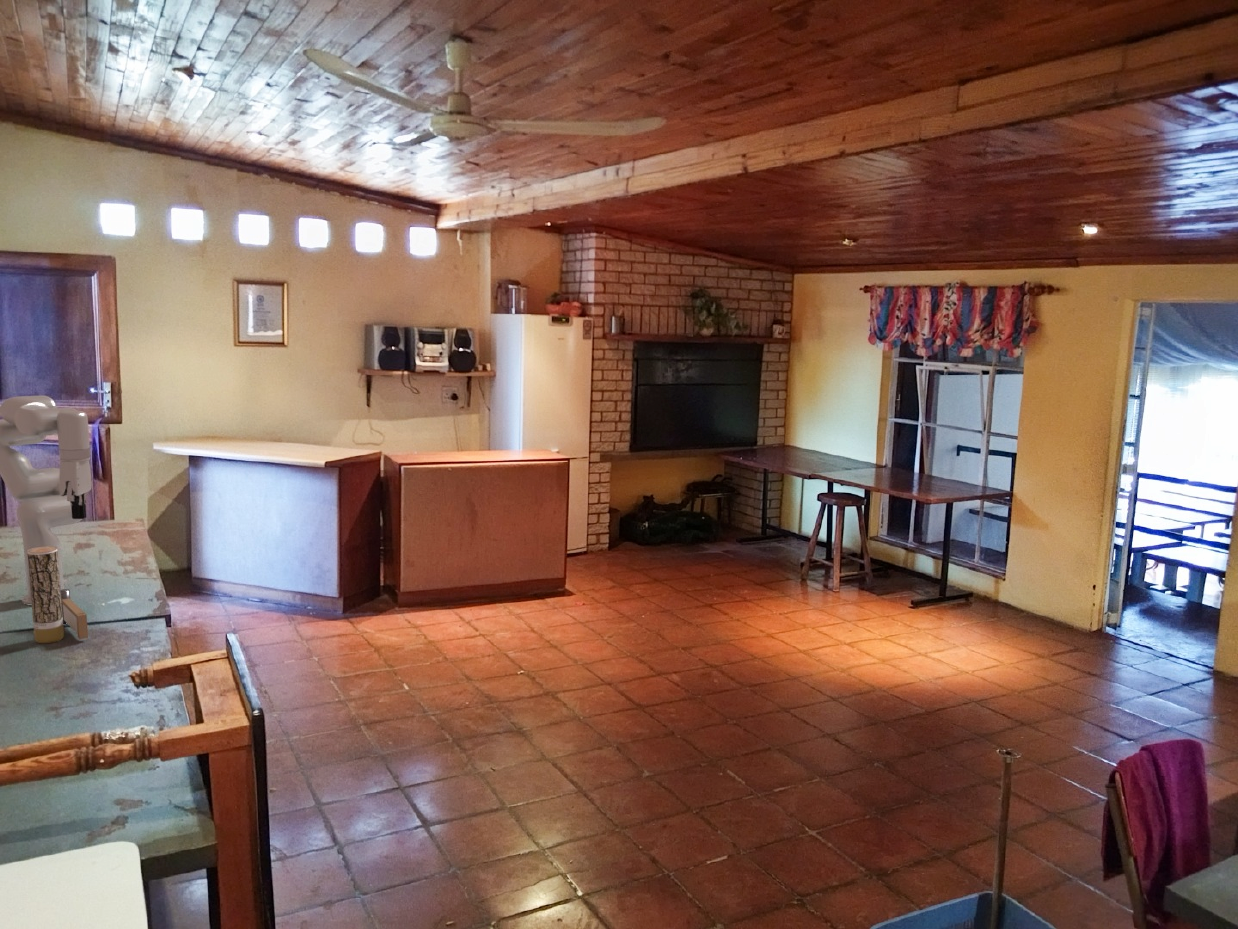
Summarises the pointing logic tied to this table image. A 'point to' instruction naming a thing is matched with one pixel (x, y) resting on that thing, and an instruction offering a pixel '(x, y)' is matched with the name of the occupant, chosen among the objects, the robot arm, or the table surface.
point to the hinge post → (64, 595)
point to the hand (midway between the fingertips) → (79, 518)
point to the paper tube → (45, 594)
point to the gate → (75, 618)
